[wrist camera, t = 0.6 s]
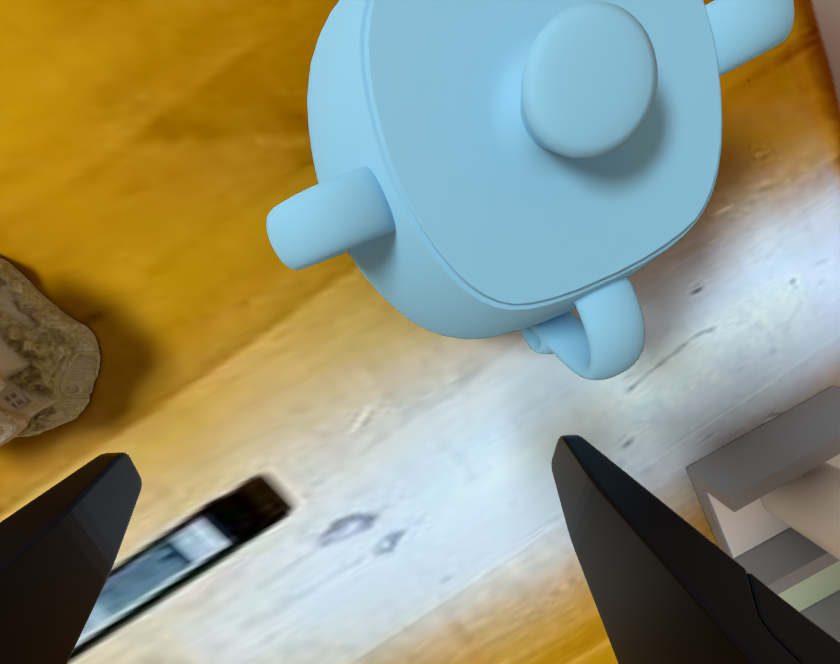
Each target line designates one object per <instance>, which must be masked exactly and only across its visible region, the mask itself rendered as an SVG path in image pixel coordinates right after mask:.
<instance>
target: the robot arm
mask: <svg viewBox="0 0 840 664" xmlns="http://www.w3.org/2000/svg"><path fill="white" fill-rule="evenodd" d="M552 472H553V476H554V480H555V483H556V487H557V491H558V494H559V498H560V502H561V505H562V509H563V513H564V516H565V520H566V524H567V527H568V531H569V534H570V538H571V541H572V543H573V546H574V549H575V552H576V554H577V557H578V560H579V562H580V565H581V567H582V570H583V573H584V575H585V578H586V580H587V583H588V586H589V588H590V591H591V593H592V596H593V599H594V601H595V604H596V606H597V609H598V612H599V614H600V617H601V619H602V622H603V625H604V627H605V630H606V632H607V635H608V638H609V640H610V643H611V645H612V648H613V651H614V653H615V656H616V658H617V661H618V664H840V642H839V641H837V640H836V639H835V638H833V637H832V636H831V635H829V634H828V633H827V632H825V631H824V630H823V629H821V628H820V627H819V626H817V625H816V624H815V623H813V622H812V621H810V620H809V619H808V618H807V617H805V616H804V615H803V614H802V613H800V612H799V611H798V610H796V609H795V608H794V607H793V606H791V605H790V604H789V603H787V602H786V601H785V600H784V599H782V598H781V597H780V596H779V595H777V594H776V593H775V592H773V591H772V590H771V589H770V588H768V587H767V586H766V585H765V584H764V583H762V582H761V581H760V580H759V579H757V578H756V577H755V576H754V575H752V574H751V573H747V571H746V569H745V568H743V567H742V566H741V565H740V564H738V563H737V562H736V561H735V560H734V559H732V558H731V557H730V556H729V555H727V554H726V553H725V552H724V551H722V550H721V549H720V548H719V547H717V546H716V545H715V544H714V543H712V542H711V541H710V540H709V539H707V538H706V537H705V536H704V535H703V534H701V533H700V532H699V531H698V530H696V529H695V528H694V527H693V526H691V525H690V524H689V523H688V522H686V521H685V520H684V519H683V518H681V517H680V516H679V515H678V514H676V513H675V512H674V511H673V510H672V509H670V508H669V507H668V506H667V505H665V504H664V503H663V502H662V501H660V500H659V499H658V498H657V497H655V496H654V495H653V494H652V493H650V492H649V491H648V490H647V489H645V488H644V487H643V486H642V485H641V484H639V483H638V482H637V481H636V480H634V479H633V478H632V477H631V476H629V475H628V474H627V473H626V472H624V471H623V470H622V469H621V468H619V467H618V466H617V465H616V464H614V463H613V462H612V461H611V460H610V459H608V458H607V457H606V456H605V455H603V454H602V453H601V452H600V451H598V450H597V449H596V448H595V447H593V446H592V445H591V444H590V443H588V442H587V441H586V440H585V439H583V438H582V437H580V436H578V435H565V436H561V437H560V438H559V439H558V442H557V445H556V448H555V452H554V455H553V458H552ZM141 485H142V482H141V477H140V475H139V473H138V471H137V470H136V468H135V466H134V464H133V462H132V460H131V458H130V457H129V455H128V454H126V453H105V454H101V455H99V456H98V457H96V458H95V459H93V460H92V461H90V462H89V463H87V464H86V465H84V466H83V467H81V468H80V469H78V470H77V471H75V472H74V473H72V474H71V475H70V476H68V477H67V478H65V479H64V480H62V481H61V482H59V483H58V484H56V485H55V486H53V487H52V488H50V489H49V490H47V491H46V492H44V493H43V494H42V495H40V496H39V497H37V498H36V499H34V500H33V501H31V502H30V503H28V504H27V505H25V506H24V507H22V508H21V509H19V510H18V511H16V512H15V513H14V514H12V515H11V516H9V517H8V518H6V519H5V520H3V521H2V522H0V664H67V662H68V660H69V658H70V656H71V654H72V652H73V649H74V647H75V645H76V643H77V641H78V639H79V637H80V635H81V633H82V631H83V629H84V626H85V624H86V622H87V620H88V618H89V616H90V614H91V612H92V610H93V608H94V605H95V603H96V601H97V599H98V597H99V595H100V593H101V591H102V589H103V587H104V584H105V582H106V580H107V578H108V576H109V574H110V571H111V569H112V567H113V564H114V562H115V559H116V557H117V554H118V551H119V549H120V546H121V543H122V540H123V538H124V535H125V532H126V529H127V527H128V524H129V521H130V518H131V516H132V513H133V510H134V507H135V505H136V502H137V499H138V496H139V494H140V490H141Z"/></svg>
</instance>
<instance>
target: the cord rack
mask: <svg viewBox="0 0 840 664" xmlns="http://www.w3.org/2000/svg"><path fill="white" fill-rule="evenodd" d="M824 462H826V463H828V464H830V465H832V466H835V467H837V468H839V469H840V387H837V386H832V387H830V388H828V389H826V390H825V391H823V392H821V393H819V394H817V395H816V396H814V397H812V398H810V399H808V400H807V401H805V402H803V403H801V404H799V405H798V406H796V407H794V408H792V409H790V410H789V411H787V412H785V413H783V414H781V415H780V416H778V417H776V418H774V419H772V420H771V421H769V422H767V423H765V424H763V425H762V426H760V427H758V428H756V429H754V430H753V431H751V432H749V433H747V434H745V435H744V436H742V437H740V438H738V439H736V440H735V441H733V442H731V443H729V444H727V445H726V446H724V447H722V448H720V449H718V450H717V451H715V452H713V453H711V454H709V455H708V456H706V457H704V458H702V459H700V460H699V461H697V462H695V463H693V464H691V465H690V466H688V467H686V469H687V472H688V474H689V477H690V479H691V481H692V484H693V486H694V489H695V491H696V494H697V496H698V499H699V501H700V503H701V506H702V508H703V511H704V513H705V516H706V518H707V520H708V523H709V525H710V528H711V530H712V533H713V535H714V537H715V540H716V542H717V545H718V547H719V548H720V549H721V550H722V551H724V552H725V553H726V554H727V555H729V556H730V557H731V558H732V559H734V560H735V561H736V562H737V563H738V564H740V565H741V566H742V567H743V568H745V569H746V571H747V573H751V574H752V575H754V576H755V577H756V578H757V579H759V580H760V581H761V582H762V583H764V584H765V585H766V586H767V587H768V588H770V589H771V590H772V591H773V592H775V593H776V594H777V595H779V596H780V597H781V598H782V599H784V600H785V601H786V602H787V603H789V604H790V605H791V606H793V607H794V608H795V609H796V610H798V611H799V612H800V613H802V614H803V615H804V616H805V617H807V618H808V619H809V620H810V621H812V622H813V623H815V624H816V625H817V626H819V627H820V628H821V629H823V630H824V631H825V632H827V633H828V634H829V635H831V636H832V637H833V638H835V639H836V640H837V641H839V642H840V560H839V559H837V558H836V557H834V556H833V555H831V554H830V553H828V552H827V551H825V550H824V549H822V548H821V547H819V546H818V545H816V544H815V543H814V542H812V541H811V540H809V539H808V538H806V537H805V536H803V535H802V534H800V533H799V532H797V531H796V530H794V529H793V528H791V527H790V526H788V525H787V524H786V523H784V522H783V521H781V520H780V519H778V518H777V517H775V516H774V515H772V514H771V513H769V512H768V511H767V510H766V509H765V508H764V507H763V505H762V503H761V500H760V498H761V497H763V496H765V495H766V494H768V493H770V492H772V491H774V490H776V489H777V488H779V487H781V486H783V485H785V484H786V483H788V482H790V481H792V480H794V479H795V478H797V477H799V476H801V475H803V474H804V473H806V472H808V471H810V470H812V469H813V468H815V467H817V466H819V465H821V464H822V463H824Z"/></svg>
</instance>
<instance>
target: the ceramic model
mask: <svg viewBox="0 0 840 664" xmlns="http://www.w3.org/2000/svg"><path fill="white" fill-rule="evenodd" d="M98 347H99V345H98V343H97V340H96V337H95V335H94V333H93V332H92V331H91V330H90V329H89V328H88V327H87V326H86V325H84V324H82V323H79V322H77V321H76V320H74V319H72V318H71V317H70V316H68V315H67V314H65V313H64V312H62V311H61V309H60V308H59V307H57V306H56V305H55V304H54V303H52V302H51V301H50V300H48V299H47V298H46V297H45V296H44V295H42V294H41V293H40V292H39V290H37V289H36V288H35V287H34V286H33V284H32V283H31V282H30V281H29V280H28V279H27V278H26V277H25V276H24V275H23V274H22V273H21V272H20V271H18V270H17V269H16V268H15V267H14V266H13V265H12V264H11V263H10V262H8V261H6V260H4V259H2V258H0V446H2V445H4V444H5V443H7V442H9V441H10V440H11V439H12V438H14V437H27V436H33V435H39V434H40V433H42V432H45V431H47V430H50V429H53V428H56V427H58V426H60V425H62V424H65V423H67V422H69V421H71V420H73V419H75V418H77V417H78V416H79V414H80V413H81V412H82V411H84V408H85V407H86V406H87V404H88V403H89V401H90V400H89V398H90V395H89V394H90V393H92V391H93V386H94V381H95V379H96V378H97V376H98V371H99V368H100V360H101V356H100V350H99V349H98Z"/></svg>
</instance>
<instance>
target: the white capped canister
mask: <svg viewBox="0 0 840 664" xmlns="http://www.w3.org/2000/svg"><path fill="white" fill-rule="evenodd" d="M760 500H761V503H762V505H763V507H764V508H765V509H766V510H767V511H768V512H769V513H771V514H772V515H774V516H775V517H777V518H778V519H780V520H781V521H783V522H784V523H786V524H787V525H788V526H790V527H791V528H793V529H794V530H796V531H797V532H799V533H800V534H802V535H803V536H805V537H806V538H808V539H809V540H811V541H812V542H814V543H815V544H816V545H818V546H819V547H821V548H822V549H824V550H825V551H827V552H828V553H830V554H831V555H833V556H834V557H836V558H837V559H839V560H840V469H839V468H837V467H835V466H832V465H830V464H828V463H826V462H824V463H822V464H821V465H819V466H817V467H815V468H813V469H812V470H810V471H808V472H806V473H804V474H803V475H801V476H799V477H797V478H795V479H794V480H792V481H790V482H788V483H786V484H785V485H783V486H781V487H779V488H777V489H776V490H774V491H772V492H770V493H768V494H766V495H765V496H763V497H761V498H760Z"/></svg>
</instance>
